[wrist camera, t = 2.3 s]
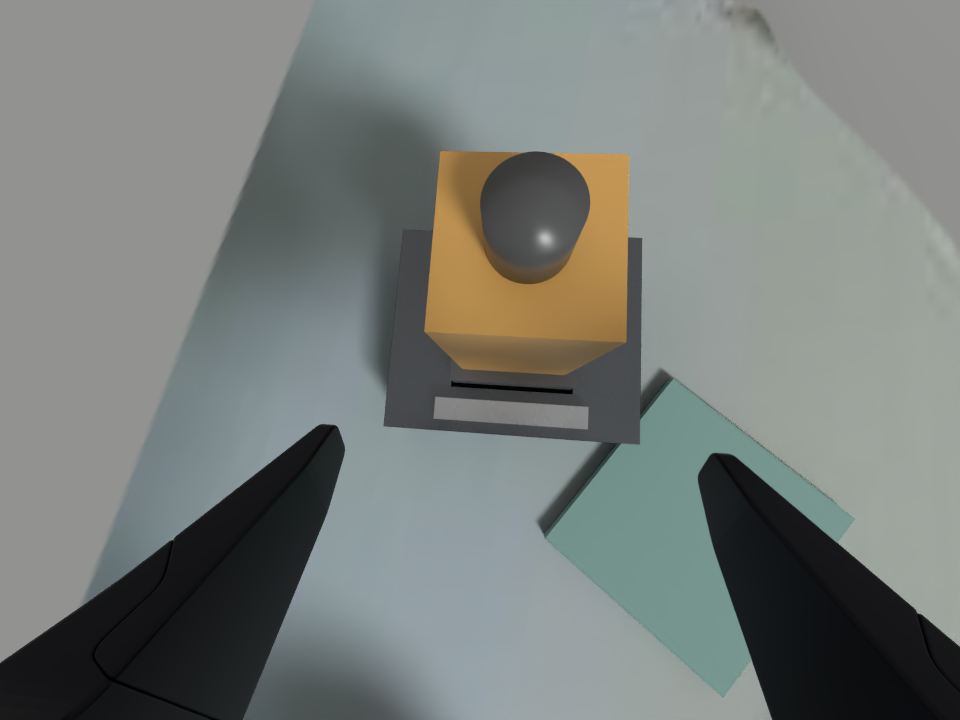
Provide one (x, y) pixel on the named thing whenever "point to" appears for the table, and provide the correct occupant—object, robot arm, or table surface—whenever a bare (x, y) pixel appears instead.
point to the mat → (675, 530)
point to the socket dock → (446, 406)
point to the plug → (528, 265)
